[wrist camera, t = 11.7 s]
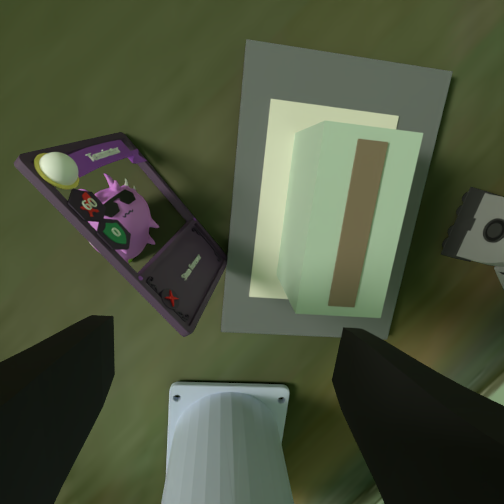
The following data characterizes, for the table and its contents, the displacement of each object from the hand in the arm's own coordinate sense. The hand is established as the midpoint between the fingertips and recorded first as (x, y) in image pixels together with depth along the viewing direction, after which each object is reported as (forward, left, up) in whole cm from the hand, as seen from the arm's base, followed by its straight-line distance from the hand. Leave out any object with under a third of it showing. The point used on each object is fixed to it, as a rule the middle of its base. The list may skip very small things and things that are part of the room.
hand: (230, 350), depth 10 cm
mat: (+4, -6, -9) cm, 11 cm away
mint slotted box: (+4, -5, -9) cm, 11 cm away
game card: (+2, +5, -10) cm, 11 cm away
